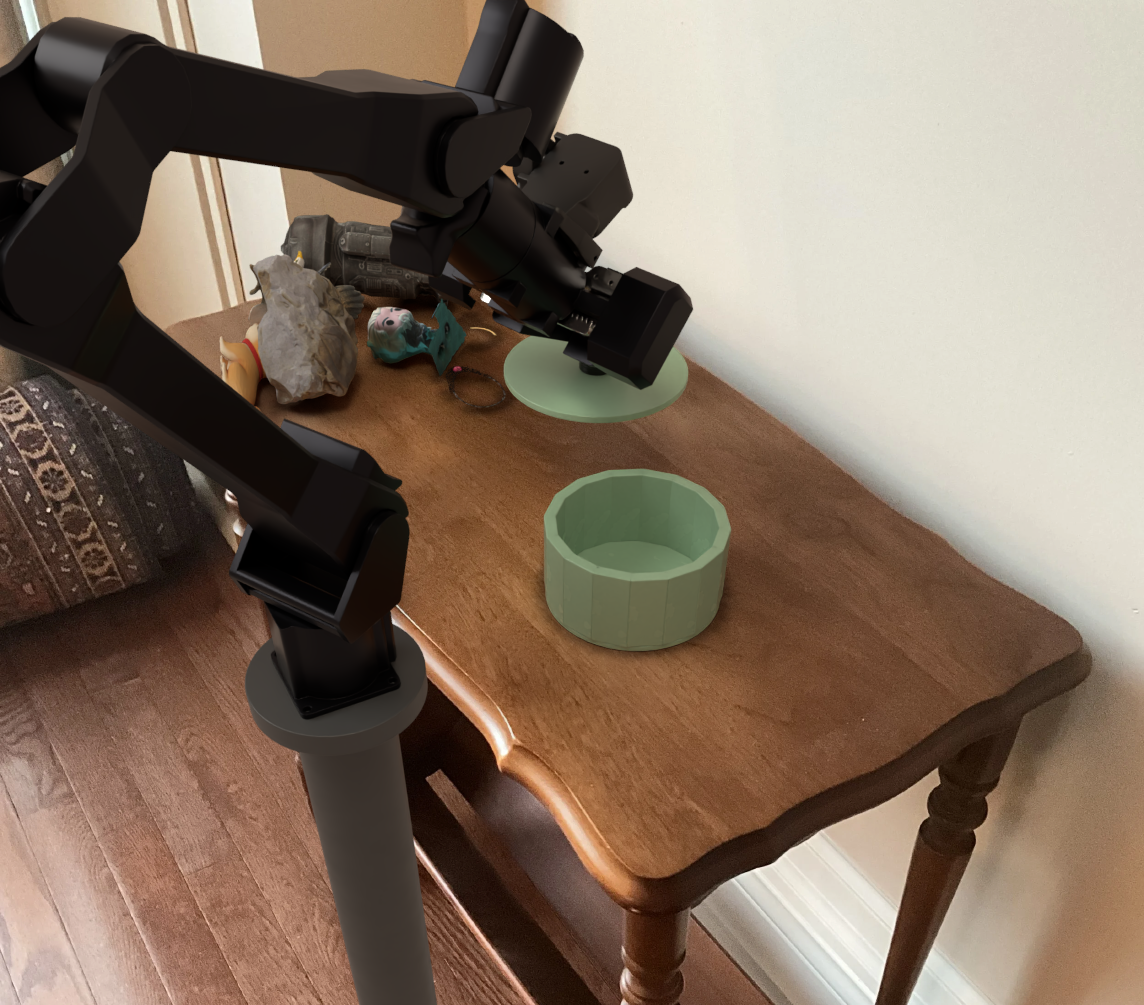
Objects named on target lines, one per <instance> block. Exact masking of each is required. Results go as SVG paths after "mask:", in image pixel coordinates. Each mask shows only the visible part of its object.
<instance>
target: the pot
mask: <svg viewBox="0 0 1144 1005" xmlns="http://www.w3.org/2000/svg"><path fill="white" fill-rule="evenodd" d="M731 535H732V527H731V523H730V520H729V516H728V513H727V510H726V507H725V506H724V505H723V503H721V502H720V500H719V499H718V498H716V496H714V494H712V493H711V492H710V491H709V490H708V489H707V488H706V487H704V486H702V485H700V484H698V483H696V482H693V481H692V480H689V479H687V478H685V477H683V476H681V475H679V474H675V473H669V472H664V471H658V470H654V469H648V468H626V469H625V468H624V469H608V470H603V471H601V472H596V473H593V474H590V475H587V476H583V477H580V478H577V479H575V480H574V481H573V482H571V483H570V484H569V485H566V487H563V488H562V489H561V490H560V491H558V492H557V493H555V494H554V496H553V498H552V500H551V502H550V504H549V505H548V507H547V509H546V511H545V513H544V514H543V582H544V589H545V593H544V594H545V596H544V597H545V600H546V605H547V607H548V609H549V612H550V613H551V614H552V616H553V618H554V619H555V620H556V621H557V623H559V624H560V625H561V626H562V627H563V628H564V629H566V630H567V631H568V632H569V633H571V634H573V635H574V636H576V637H577V638H579V639H581V640H583V641H585V642H587V643H590V644H593V645H596V646H599V647H602V648H607V649H611V650H617V651H624V652H648V651H657V650H663V649H668V648H671V647H675V646H677V645H680V644H683V643H685V642H688V641H690V640H691V639H693V638H695V637H696V636H698V635H699V634H700V633H702V632H703V631H704V630H705V629H707V627H709V625H711V623H712V621H713V620H714V619H715V617H716V616H717V614H718V611H719V608H720V604H721V600H722V597H723V594H724V587H725V580H726V579H725V578H726V571H727V564H728V558H729V550H730V544H731Z"/></svg>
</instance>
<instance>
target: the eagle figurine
mask: <svg viewBox="0 0 1144 1005" xmlns="http://www.w3.org/2000/svg"><path fill="white" fill-rule="evenodd" d="M294 262H296V263H297V264H299V265H300V266H301V267H302V268H304V260H303V257H302V252H301V251H298V255H297V258H296V259H295V261H294ZM330 265H331V263H330V262H329V263H328V264H326V265H325V266H324V267H322V268H321V269H320V270H318V271H317V272H318V273H319V274H322V273H323V272H325V271H326V270H327V269H328V268H330ZM254 266H255V264H252V263H249V269H250V271H251V272H252V273H253V275H254V277H255V279H256V285H255V287H254V288H252V289H251V290H250V291H249V295H250V296H253V295H256V294H257V293H258V291H260V293H261V301H260V303H257V304H255V305H253V306H252V307H251V309H250V311H249V314H248V318H247V320H248V322H249V325H250V327H251V326H253V325H254V324H255V323H256V324H259V323H260V321H261V319H262V318H263V316H264V314H266V313H267V311H268V310H267V304H266V301H265V298H264V295H263V292H262V287H261V285H260V283H259V280H258V277H257V275H256V273H255V271H254V270H253V267H254ZM335 288H336V289H337V290H338V291H339V292H340V294H341V301H342V303H343V305H344V307H345V309H346V311H347V313H348V314H349V315H351V316H352V317H353V319H354V320H357V319H359V315H360V314H362V310H363V308H364V307H365V306H364V301H365V296H364V295H363V294H361V292H360V291H356V290H355V287H354V286H351V285H341V286H336V287H335Z"/></svg>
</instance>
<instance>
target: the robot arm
mask: <svg viewBox="0 0 1144 1005" xmlns="http://www.w3.org/2000/svg"><path fill="white" fill-rule="evenodd" d="M584 57H585V50H584V47H583V44H582V42H581V41H580V39H579V38H578V37H577V36H576V35H575V34H574V33H573V32H569V31H567V30H566V28H564V27H563V26H562V25H560V24H559V23H557V21H555V20H553V19H552V18H550V17H549V16H547V15H546V14H544V13H542V12H540V11H538V10H536V9H534V8H532V7H530V6H529V4H528V3H527V1H526V0H485V1H484V4H483V6H482V9H481V13H480V18H479V22H478V26H477V28H476V32H475V34H474V37H473V40H472V42H471V45H470V47H469V49H468V52H467V55H466V57H465V60H464V62H463V65H462V67H461V70H460V73H459V75H458V77H457V80H456V83H455V85H454V86H451V85H447V84H443V83H439V82H435V81H431V80H427V79H423V80H419V79H415V78H405V77H402V76H398V75H394V74H389V73H386V72H381V71H377V70H372V69H366V68H356V69H355V68H354V69H333V70H331V69H330V70H324V71H322V72H320V73H318V74H317V75H315V76H300V77H298V76H293V75H288V74H284V73H280V72H276V71H273V70H272V71H271V70H267V69H264V68H260V67H255V66H252V65H247V64H243V63H239V62H234V61H231V60H227V59H222V58H219V57H214V56H211V55H207V54H203V53H198V52H195V51H190V50H186V49H182V48H178V47H173V46H169V45H166V44H165V43H163V42H161V40H158V39H157V38H156V37H155V36H152V35H149V34H147V33H143V32H140V31H137V30H133V29H128V28H124V27H120V26H116V25H113V24H108V23H105V22H100V21H97V20H93V19H89V18H86V17H82V16H64V17H62V18H60V19H58V20H56V21H51V22H50V23H48V24H46V25H45V26H43V27H42V28H41V29H39V30H38V31H37V32H36V33H35V34H34V35H33V36H32V37H31V38H30V40H29V41H28V42H27V43H26V44H25V45H24V46H23V47H22V48H21V49H20V50H19V52H18V53H17V54H16V55H15V56H14V57H13V58H12V59H11V61H9V62H7V63H6V64H4V65H2V66H1V67H0V347H1V348H3V349H6V350H8V351H10V352H13V353H15V354H17V355H20V356H22V357H25V358H26V359H29V360H32V361H34V362H37V363H39V364H40V365H43V366H45V367H47V368H49V369H50V370H52V371H53V372H54V373H56V374H57V375H59V376H60V377H62V378H63V379H64V380H66V381H68V383H71V384H72V385H73V386H75V387H76V388H77V389H79V390H80V391H82V392H83V393H85V394H86V395H88V396H90V397H91V398H93V399H94V400H95V401H96V402H98V403H100V404H101V405H102V406H104V407H105V408H107V409H109V410H110V411H111V412H112V413H114V414H116V415H117V416H119V417H120V418H122V419H123V420H125V421H126V422H127V423H129V424H131V425H132V426H133V427H135V428H136V429H138V430H139V431H141V432H143V433H144V434H145V435H147V436H148V437H149V438H151V439H152V440H154V441H156V442H157V443H158V444H160V445H162V446H163V447H165V448H166V450H169V451H170V452H171V453H173V454H175V456H177V457H179V458H180V459H182V461H183V460H184V461H185V462H186V463H187V464H189V465H191V466H192V467H193V468H195V469H196V470H198V471H199V472H201V473H202V474H204V475H205V476H207V477H208V478H210V479H211V480H213V481H214V482H216V483H217V484H218V485H220V486H221V487H223V489H226V491H229V492H230V493H231V494H232V495H233V496H234V497H235V498H236V501H237V507H238V511H239V515H240V517H241V518H242V519H243V520H244V522H246V526H245V529H244V530H243V534H242V536H241V539H240V541H239V544H238V546H237V549H236V552H235V553H234V556H233V559H232V562H231V564H230V567H229V570H228V576H229V578H230V579H231V580H232V581H233V583H234V584H235V586H236V587H237V588H238V589H239V591H240V592H241V593H243V594H245V595H247V596H253V597H255V598H257V599H259V600H261V601H263V605H264V610H265V613H266V618H267V622H268V626H269V630H270V635H271V638H272V639H273V643H274V648H275V650H274V651H273V652H272V653H271V659H272V662H273V664H274V666H275V668H276V670H277V672H278V674H279V676H280V678H281V680H282V682H283V684H284V686H285V687H286V689H287V691H288V693H289V695H290V697H291V699H292V701H293V703H294V705H295V707H296V709H297V711H298V713H299V715H300V717H301V718H303V719H306V720H309V719H313V718H316V717H319V716H322V715H324V714H327V713H330V712H333V711H336V710H339V709H342V708H345V707H348V706H351V705H354V704H357V703H360V702H363V701H366V700H369V699H371V698H374V697H377V696H380V695H383V694H386V693H389V692H392V691H395V690H397V689H399V688H400V686H401V681H400V678H399V676H398V674H397V673H396V671H395V669H394V668H393V666H392V665H391V663H392V662H395V661H396V658H397V654H396V646H395V639H394V631H393V624H394V623H393V618H392V612H391V611H392V610H393V609H394V608H395V607H396V606H397V605H399V604H400V603H401V601H402V596H403V589H404V588H403V587H404V581H405V573H406V567H407V560H408V559H407V558H408V550H409V543H410V535H411V531H410V524H409V521H408V520H407V518H408V517H409V515H410V512H409V508H408V504H407V502H406V500H405V499H404V497H403V496H402V494H401V493H399V492H398V491H397V490H398V489H399V488H400V487H401V486H402V485H403V480H402V479H401V478H398V477H396V476H393V475H391V474H388V473H386V472H385V471H384V470H383V469H382V467H381V466H380V464H379V463H378V462H377V460H376V459H375V458H374V457H373V456H372V455H371V454H370V453H369V452H368V451H367V450H365V449H363V448H361V447H359V446H356V445H353V444H351V443H348V442H346V441H343V440H341V439H338V438H335V437H333V436H330V435H328V434H326V433H323V432H320V431H318V430H316V429H313V428H311V427H309V426H305V425H303V424H300V423H297V422H295V421H293V420H291V419H290V420H289V419H287V418H283V419H282V422H281V425H280V426H279V425H278V424H276V422H274V421H273V420H272V419H271V418H270V417H268V416H267V415H266V414H264V413H263V412H262V410H261V411H259V410H258V409H257V408H256V407H255V405H254V406H253V405H252V404H251V403H250V402H249V401H247V400H246V399H245V398H244V397H243V396H241V395H240V394H239V393H238V392H237V391H235V390H234V389H233V388H232V387H231V386H229V385H228V384H227V383H226V382H224V381H223V380H222V377H220V376H219V375H217V374H216V373H215V372H214V371H212V370H211V369H210V367H208V366H207V365H206V364H204V363H203V362H202V361H201V360H199V359H198V358H197V357H196V356H194V355H193V353H191V352H190V351H188V350H187V349H186V348H185V347H184V346H182V345H181V344H180V343H179V342H178V341H176V340H175V339H174V338H173V337H172V336H171V335H169V334H168V333H167V332H165V331H164V329H162V328H161V327H160V326H159V325H157V324H156V323H155V322H153V321H152V320H151V318H149V317H148V316H147V315H145V314H144V313H143V312H142V311H141V310H140V308H139V307H138V306H137V305H136V303H135V301H134V298H133V295H132V290H131V287H130V286H129V282H128V279H127V278H128V277H127V276H126V272H125V269H124V266H123V264H122V263H121V261H122V259H124V257H125V255H126V254H127V253H129V251H130V249H132V247H133V246H134V245H135V243H137V240H138V238H139V237H140V235H141V233H142V232H141V231H142V226H143V222H144V217H145V214H146V207H147V204H148V199H149V193H150V188H151V184H152V180H153V174H154V172H155V171H156V169H157V168H158V167H159V166H160V164H161V163H162V162H163V161H164V160H165V159H166V158H167V156H168V155H169V154H170V152H172V153H173V152H174V153H178V154H179V153H180V154H186V155H193V156H200V157H206V158H213V159H219V160H227V161H233V162H240V163H246V164H247V163H248V164H254V165H261V166H267V167H273V168H281V169H287V170H293V171H301V172H308V173H311V174H313V175H314V176H316V177H319V178H321V179H323V180H325V181H327V182H330V183H332V184H334V185H336V186H338V187H340V188H343V189H345V190H348V191H349V192H354V193H356V194H359V195H364V196H367V197H370V198H374V199H377V200H381V201H384V202H387V203H391V204H394V205H397V206H399V207H400V206H401V209H400V215H399V216H398V217H397V218H395V219H392V220H391V221H390V223H389V227H390V228H391V232H392V238H391V241H390V244H389V259H390V263H391V265H392V266H395V267H398V268H402V269H406V270H409V271H413V272H416V273H420V274H424V275H427V276H428V282H429V286H430V287H431V288H432V289H433V290H435V291H436V292H437V293H438V294H440V295H441V296H442V297H443V298H445V299H447V300H448V302H451V303H454V304H456V305H458V306H459V307H463V308H465V309H466V310H468V311H472V310H473V309H474V306H475V305H476V302H477V300H476V299H475V298H474V297H472V296H471V295H470V294H471V291H472V290H473V289H474V290H475V291H478V292H480V293H481V294H480V296H479V299H480V300H481V302H483V303H485V304H486V305H487V306H488V307H489V308H490V309H491V310H492V312H491V317H492V320H493V321H494V322H495V323H496V324H499V325H500V326H503V327H505V328H507V329H509V330H511V331H514V332H515V333H518V334H520V335H523V336H529V337H530V336H536V337H542V338H548V339H554V340H560V341H566V342H568V343H567V345H566V347H565V349H564V351H563V354H565V355H567V356H569V357H571V358H573V359H575V360H577V361H580V362H582V363H584V364H586V365H588V366H591V367H597V368H598V369H600V370H602V371H603V372H605V373H606V374H608V375H610V376H612V377H614V378H616V379H618V380H620V381H622V382H625V383H627V384H629V385H631V386H633V387H635V388H637V389H639V390H642V389H644V388H647V387H649V386H651V385H653V383H654V381H655V379H656V377H657V375H658V373H659V372H660V370H661V368H662V366H663V364H664V362H665V361H666V359H667V357H668V355H669V353H670V351H671V350H672V348H673V346H674V347H675V344H676V342H677V340H678V339H679V337H680V335H681V333H682V332H683V329H684V328H685V326H686V324H687V322H688V320H689V319H690V316H691V315H692V313H693V311H694V306H693V302H692V297H691V296H690V295H689V294H688V293H687V291H686V290H685V289H684V288H683V287H682V285H681V284H679V283H677V282H675V281H672V280H670V279H667V278H665V277H663V276H660V275H658V274H655V273H653V272H650V271H648V270H645V269H643V268H641V267H638V266H635V267H634V268H631V269H629V270H627V271H625V272H624V273H623V272H620V271H619V270H615V269H613V268H610V267H605V266H602V265H596V264H597V262H598V261H599V258H600V256H601V255H602V253H603V251H604V250H603V248H601V247H600V246H599V244H598V243H597V242H596V241H595V240H594V239H596V238H597V237H598V236H600V235H601V234H602V233H603V232H604V231H605V229H606V228H607V227H608V226H609V225H610V224H611V223H612V221H613V220H614V219H615V218H616V217H617V215H618V214H619V213H620V212H621V211H622V210H623V209H627V207H628V206H630V204H631V203H632V201H633V199H634V190H633V189H632V188H633V187H632V185H631V181H630V177H629V173H628V170H627V167H626V163H625V162H626V161H625V159H624V155H623V151H622V149H620V147H619V146H616V145H615V144H611V143H608V142H605V141H602V140H600V139H596V138H594V137H591V136H588V135H585V134H582V133H578V132H577V133H576V132H574V133H573V132H572V133H569V134H565V133H563V132H560V131H556V132H555V130H556V127H557V124H558V122H559V119H560V117H561V114H562V112H563V109H564V107H565V104H566V102H567V99H568V97H569V94H570V92H571V89H572V87H573V84H574V82H575V80H576V77H577V76H578V71H579V70H580V67H581V64H582V62H583V60H584ZM554 132H555V133H554ZM553 134H554V135H553ZM552 137H553V138H554V140H553V139H552ZM73 148H74V151H73V154H72V156H71V158H70V159H69V160H68V161H67V162H66V164H65V165H64V166H63V167H62V168H61V169H60V170H59V171H58V173H57V174H56V175H55V176H54V177H53V178H52V180H51V181H50V182H49V183H48V184H44V183H42V182H38V181H35V180H33V179H29V178H27V177H26V176H28V175H30V174H32V173H33V172H34V171H36V170H38V169H40V168H42V167H44V166H45V165H47V164H49V163H50V162H52V161H54V160H56V159H57V158H59V157H61V156H63V155H64V154H66V153H68V152H69V151H71V150H72V149H73ZM503 166H505V167H510V168H512V175H513V178H514V181H515V182H514V181H513V180H512V179H511V177H510V176H508V174H506V173H505V171H504V170H503V169H502V168H503ZM587 268H589V269H590V270H588V271H586V270H587ZM586 287H588V288H589V289H590V291H589V290H587V289H585V288H586ZM392 682H394V683H392ZM306 711H309V712H306Z"/></svg>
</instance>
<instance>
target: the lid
mask: <svg viewBox="0 0 1144 1005" xmlns="http://www.w3.org/2000/svg"><path fill="white" fill-rule="evenodd" d="M567 343H568V342H566V341H560V340H554V339H548V338H542V337H536V336H530V335H529V336H527V337H526V338H524V339H522V340H521V341H519V342H518V343H517V344H516V345H515V346H514V347H513V348H512V349H511V350H510V351H509V352H508V354H507V356H506V358H505V360H504V364H503V378H504V382H505V385H506V386H507V388H508V390H509V392H510V393H511V394H512V395H513V396H514V398H516V399H517V400H518V401H519V402H521V403H522V404H523V405H525V406H526V407H528V408H530V409H532V410H533V411H536V412H539V413H540V414H543V415H546V416H549V417H552V418H555V419H560V420H563V421H564V420H565V421H569V422H576V423H582V424H583V423H584V424H613V423H623V422H630V421H635V420H639V419H642V418H645V417H649V416H652V415H655V414H657V413H659V412H661V411H663V410H664V409H667V408H668V407H670V406H671V405H672V404H674V403H675V402H676V401H678V399H679V398H680V397H681V396H682V395H683V393H684V392H685V390H686V388H687V385H688V381H689V368H688V363H687V361H686V360H685V357H684V355H683V354H682V353H681V352H680V351H679V350H678V349H677V348H676V347H675V345H674V346H673V348H672V350H671V351H670V353H669V355H668V357H667V359H666V361H665V362H664V364H663V366H662V368H661V370H660V372H659V373H658V375H657V377H656V379H655V381H654V383H653V385H651V386H649V387H647V388H644V389H642V390H639V389H637V388H635V387H633V386H631V385H629V384H627V383H625V382H622V381H620V380H618V379H616V378H614V377H612V376H610V375H608V374H606V373H605V372H603V371H602V370H600V369H598V368H597V367H591V366H588V365H586V364H584V363H582V362H580V361H577V360H575V359H573V358H571V357H569V356H567V355H565V354H563V351H564V349H565V347H566V345H567Z"/></svg>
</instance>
